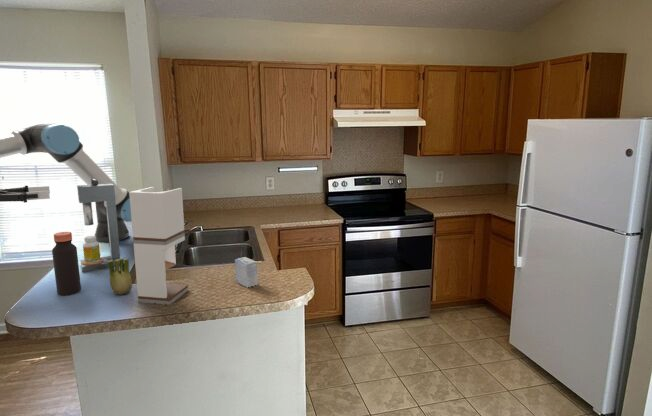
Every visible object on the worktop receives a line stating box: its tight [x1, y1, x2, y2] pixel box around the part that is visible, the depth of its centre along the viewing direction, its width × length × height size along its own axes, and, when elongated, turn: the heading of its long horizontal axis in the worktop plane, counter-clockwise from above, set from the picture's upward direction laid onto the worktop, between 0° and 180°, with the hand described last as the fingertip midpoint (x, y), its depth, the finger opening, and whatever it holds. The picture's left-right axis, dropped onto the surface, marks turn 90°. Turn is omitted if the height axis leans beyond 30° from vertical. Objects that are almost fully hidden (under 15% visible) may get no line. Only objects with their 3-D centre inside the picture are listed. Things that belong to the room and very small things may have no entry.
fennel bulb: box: [108, 257, 133, 296], centre depth 133 cm, size 6×5×12 cm
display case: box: [128, 186, 189, 306], centre depth 129 cm, size 11×11×35 cm
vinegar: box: [51, 231, 82, 296], centre depth 133 cm, size 7×7×20 cm
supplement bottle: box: [82, 235, 101, 263], centre depth 158 cm, size 5×5×10 cm
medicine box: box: [234, 256, 259, 289], centre depth 143 cm, size 8×4×9 cm, turn 43°
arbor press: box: [76, 178, 121, 273], centre depth 158 cm, size 14×10×35 cm
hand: (49, 192), depth 151 cm, fingers open, 13 cm apart
